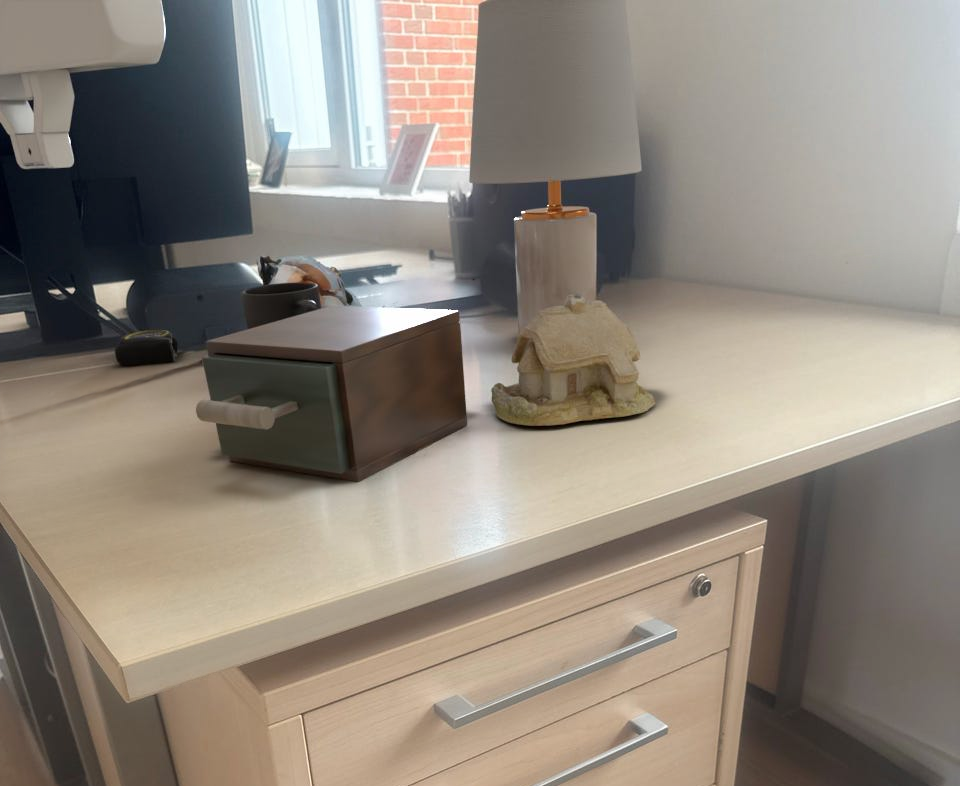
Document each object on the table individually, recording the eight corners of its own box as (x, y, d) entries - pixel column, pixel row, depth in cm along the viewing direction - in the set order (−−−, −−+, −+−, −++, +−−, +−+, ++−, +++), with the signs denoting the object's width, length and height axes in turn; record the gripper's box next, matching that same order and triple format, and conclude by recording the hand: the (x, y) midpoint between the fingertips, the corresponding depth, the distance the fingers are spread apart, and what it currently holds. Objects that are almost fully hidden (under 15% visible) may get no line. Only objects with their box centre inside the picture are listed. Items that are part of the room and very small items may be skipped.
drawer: (303, 492, 65) (284, 382, 62) (182, 471, 71) (158, 370, 68) (446, 421, 79) (438, 327, 75) (334, 408, 85) (322, 321, 81)
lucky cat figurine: (400, 338, 116) (378, 242, 105) (335, 395, 112) (305, 301, 100) (318, 297, 122) (289, 202, 111) (254, 349, 118) (217, 256, 106)
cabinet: (358, 481, 70) (340, 351, 65) (229, 461, 76) (204, 341, 71) (467, 425, 81) (459, 310, 76) (347, 411, 88) (332, 305, 83)
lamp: (639, 324, 115) (647, 0, 99) (635, 358, 99) (643, -23, 82) (493, 329, 119) (476, 16, 102) (466, 363, 103) (441, -2, 86)
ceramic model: (604, 386, 90) (604, 278, 85) (674, 410, 81) (679, 291, 76) (478, 411, 85) (470, 299, 80) (538, 440, 76) (534, 315, 71)
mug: (284, 398, 94) (268, 301, 89) (246, 378, 103) (230, 289, 98) (357, 384, 97) (345, 290, 92) (313, 366, 106) (301, 279, 102)
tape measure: (118, 375, 109) (109, 342, 107) (130, 362, 115) (122, 331, 113) (175, 369, 109) (168, 337, 107) (184, 357, 115) (178, 327, 113)
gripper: (-195, -113, 49) (-104, 174, 56) (42, -191, 39) (117, 168, 46) (-82, -95, 54) (-10, 168, 60) (156, -160, 44) (209, 161, 51)
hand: (47, 168), depth 53 cm, fingers closed
